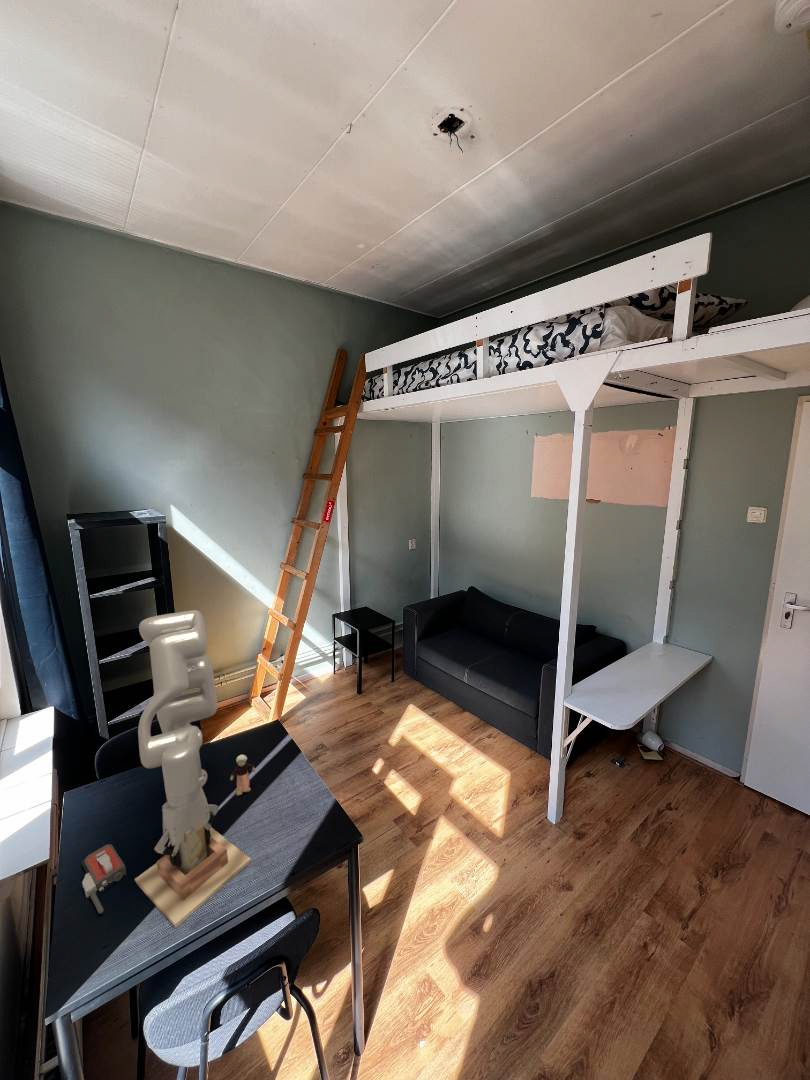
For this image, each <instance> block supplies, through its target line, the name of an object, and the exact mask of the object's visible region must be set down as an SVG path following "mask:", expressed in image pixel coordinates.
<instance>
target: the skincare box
mask: <svg viewBox="0 0 810 1080" xmlns="http://www.w3.org/2000/svg"><path fill="white" fill-rule="evenodd" d="M178 852H179V854H180V860H181V867H180V868H178V869H179V870H180V871H181V872H182V873H183V874H185V875H186V874H188V873H189V872H190V871H191V870H193V869H194V868H195V867H196V866H198V865H199V864H200V863H201V862H203V861H204V859H205V858H206V857H207V847H206V838H205V830H204V827H202V828H200V829H199V830H198V831H196V830H195V829H194V827H193V828H192V829H190V830H188V831H187V832H185V833H184V841H182V842H181V843H180V845H179V848H178Z"/></svg>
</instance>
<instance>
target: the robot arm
mask: <svg viewBox="0 0 810 1080" xmlns="http://www.w3.org/2000/svg"><path fill="white" fill-rule="evenodd" d="M138 631H139V634H140V636H141V638H142V640H143V642H145V643H146V644H147V646H148V648H149V655H150V662H151V672H152V673H151V674H152V684H153V696H152V698H151V699H150V700H149V702H148V704H147V705H146V707H145V708H144V710H143V712H142V714H141V716H140V719H139V721H138V722H139V723H138V728H137V729H138V730H137V733H138V734H137V735H138V736H137V737H138V749H139V750H138V751H139V757H140V758H139V759H140V762H141V765H142V766H143V767H144V768H146V769H155V768H159V767H161V769H162V775H163V776H162V777H163V782H164V790H165V797H166V802H165V803H164V804H163V805H164V808H163V812H162V833H163V834H162V836H161V838H160V839H159V841H158V842H157V843H156V845H155V847H154V849H153V850H154V851H155V852H156V853H158V854H161V855H163V856H165V855H170V862H171V864H172V865H173V866H174V865H175V866H176V867H177V868H180V867H181V860H180V854H179V852H178V848H179V845H180V843H181V842H182V841H184V833H185V832H187V831H188V830H190V829H192V828H193V827H194V829H195V830H196V831H198V830H199V829H200V828H202V827H204V830H205V838H206V844H207V845H209V844H210V837H211V834H210V829H211V827H212V824H213V822H214V820H215V818H216V815H217V812H218V811H219V805H216V804H212V803H211V804H210V803H209V804H208V801H207V800H208V799H207V797H206V795H205V792H204V789H203V788H204V786H205V784H206V783H207V781H208V773H207V771H206V770H205V769H203V768H202V763H201V757H200V755H201V754H200V749H201V747H202V746H203V745H202V744H203V733H202V730H201V729H199V727H198V726H197V725H192V724H191V723H193V722H197V721H200V720H203V719H207V718H210V717H212V716H214V715H215V714H216V713H217V711H218V710H217V709H218V699H217V692H216V691H217V690H216V684H215V675H214V669H213V665H212V662H211V661H210V658H208V657H206V656H205V655H206V654H207V651H208V635H207V632H206V625H205V620H204V616H203V614H202V613H201V611H200V610H198V609H192V610H185V611H178V612H173V613H165V614H161V615H160V614H159V615H155V616H154V615H153V616H151V617H148V618H145V619H143V620H142V621H140V623H139V625H138ZM193 689H195V690H193ZM189 690H191V691H189ZM187 691H188V692H187ZM155 715H156V718H157V721H158V724H159V726H160V730H161V732H162V733H159V734H157V735H154V736H152V734H151V727H152V722H153V719H154V717H155ZM212 828H213V827H212ZM167 843H168V844H167ZM166 844H167V845H166Z"/></svg>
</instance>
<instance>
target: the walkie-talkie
mask: <svg viewBox="0 0 810 1080" xmlns="http://www.w3.org/2000/svg"><path fill="white" fill-rule="evenodd" d="M81 865H83V866H82V867H84V868H83V869H85V870H84V871H86V872H85V874H84V878H83V880H82V882H81V884H82V889H83V888H84V889H83V891H84V890H85V891H84V894H85V897H86V898H87V897H88V898H90V899H91V901H92V903H93V905H94V907H95V908H96V910H97V913H98V914H103V913H104V907H103V905H102V903H101V901H100V899H99V898H98V896H97V892H96V891H100V892H101V891H102V890H103V891H104V890H105V888H104V887H105V886H107V885H108V883H112V882H113V881H115V882H120V881H121V879H122V878H123V877H124V876H126V874H127V867H126V865H125V862H124V861H123V859H122V858H121V857H120V856H119V853H117V851H116V849H115V847H114V846H113V844H107V843H106V845H103V846H102V847H100V848H98V849H96V850H95V851H94V852H92V853H90V854H88V855H87V856H86V857H85V858H83V860H82V862H81ZM123 875H124V876H123ZM115 882H113V883H115ZM113 883H112V884H113ZM107 887H108V886H107ZM103 891H102V892H103ZM102 892H101V893H102ZM89 896H90V897H89Z"/></svg>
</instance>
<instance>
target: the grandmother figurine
mask: <svg viewBox="0 0 810 1080" xmlns="http://www.w3.org/2000/svg"><path fill="white" fill-rule="evenodd" d="M235 760H236V763H237V766H235V768H234V770H233V771H232V772H231V775H230V779H229V780H230V781H233V780H234V778H235V776H236V794H235V796H240V795H243V793H249V792H250V791H251V790H252V789H251V787H250V775H249V771H248V770H250V771H252V773H253V772H256V768H255V767H254V764H251V763H247V760H248V757H247V756H246V755H245V754H240V755H238V756H237V757H236V759H235Z"/></svg>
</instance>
